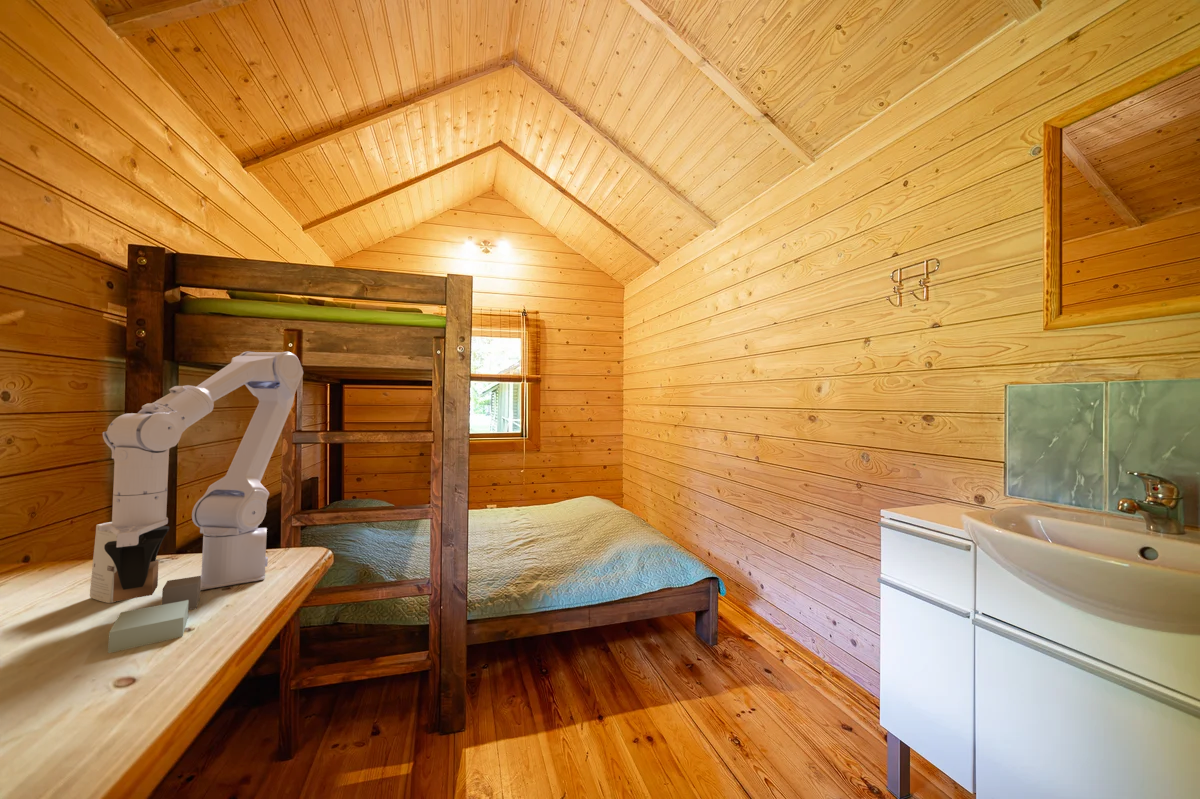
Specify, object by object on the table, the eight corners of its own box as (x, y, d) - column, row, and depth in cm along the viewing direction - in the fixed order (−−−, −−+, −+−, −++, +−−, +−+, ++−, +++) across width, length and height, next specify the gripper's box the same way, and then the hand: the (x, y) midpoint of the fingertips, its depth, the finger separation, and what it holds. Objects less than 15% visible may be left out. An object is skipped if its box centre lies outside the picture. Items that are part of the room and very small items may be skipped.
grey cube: (199, 600, 73) (201, 575, 73) (196, 609, 69) (197, 583, 70) (166, 605, 70) (167, 580, 70) (161, 615, 67) (162, 588, 67)
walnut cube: (157, 586, 69) (158, 560, 69) (151, 595, 66) (153, 568, 66) (120, 592, 67) (121, 565, 67) (112, 601, 63) (114, 573, 64)
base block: (187, 619, 66) (188, 599, 66) (182, 639, 61) (183, 617, 61) (119, 633, 62) (121, 612, 62) (107, 656, 56) (109, 632, 57)
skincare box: (87, 598, 72) (91, 524, 72) (124, 588, 76) (127, 518, 77) (110, 604, 70) (114, 528, 70) (146, 593, 74) (150, 521, 75)
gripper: (116, 487, 70) (112, 572, 70) (85, 504, 58) (80, 606, 58) (177, 483, 74) (173, 564, 74) (159, 498, 63) (155, 594, 62)
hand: (137, 582), depth 66 cm, fingers closed on walnut cube, 4 cm apart
